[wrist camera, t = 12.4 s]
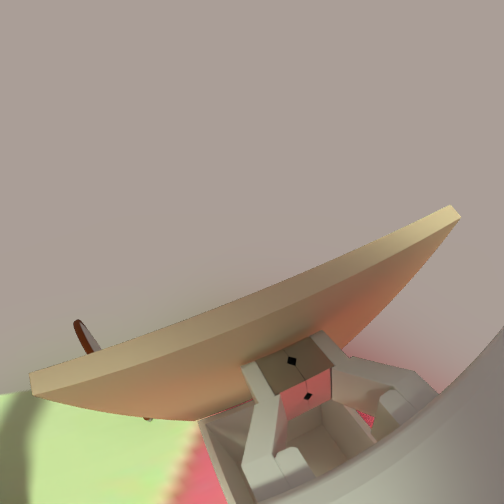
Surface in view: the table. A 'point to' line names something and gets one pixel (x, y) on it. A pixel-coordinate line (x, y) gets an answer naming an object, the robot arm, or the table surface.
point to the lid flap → (243, 333)
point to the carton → (298, 435)
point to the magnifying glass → (88, 341)
